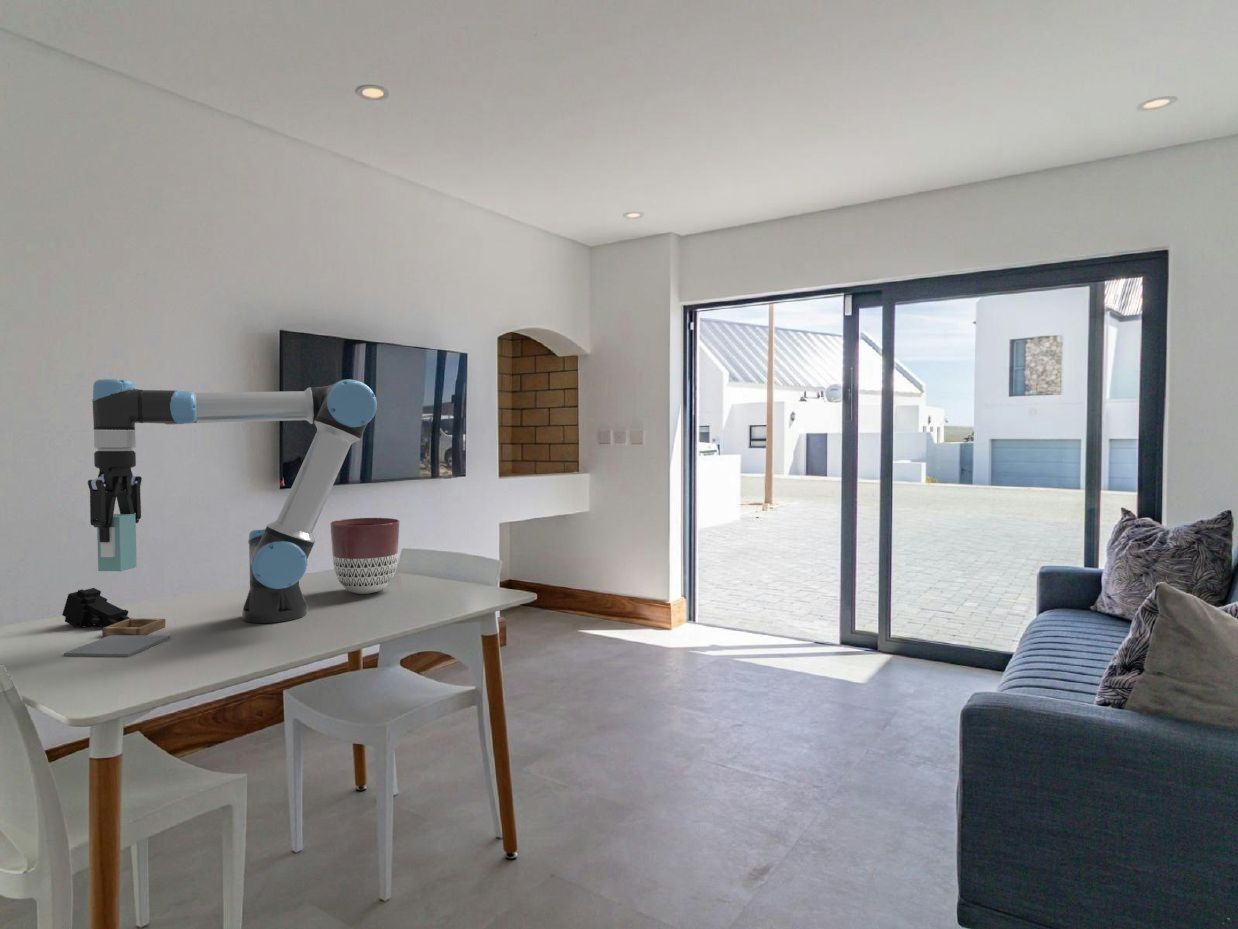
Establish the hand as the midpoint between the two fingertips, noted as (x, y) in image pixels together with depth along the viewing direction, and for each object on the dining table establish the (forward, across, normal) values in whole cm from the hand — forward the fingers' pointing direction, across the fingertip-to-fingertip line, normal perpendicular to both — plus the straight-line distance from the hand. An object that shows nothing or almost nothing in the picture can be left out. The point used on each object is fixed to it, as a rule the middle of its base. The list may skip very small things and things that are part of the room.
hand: (117, 554), depth 160 cm
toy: (+21, -17, -17) cm, 32 cm away
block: (+3, 0, 0) cm, 3 cm away
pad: (+21, 0, 0) cm, 21 cm away
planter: (+21, -57, +34) cm, 70 cm away
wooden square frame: (+21, -12, -5) cm, 24 cm away
